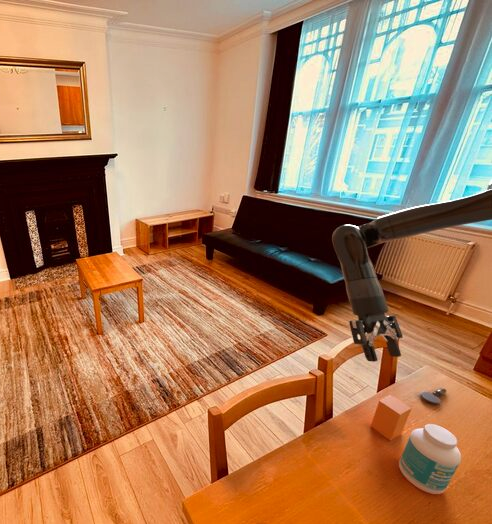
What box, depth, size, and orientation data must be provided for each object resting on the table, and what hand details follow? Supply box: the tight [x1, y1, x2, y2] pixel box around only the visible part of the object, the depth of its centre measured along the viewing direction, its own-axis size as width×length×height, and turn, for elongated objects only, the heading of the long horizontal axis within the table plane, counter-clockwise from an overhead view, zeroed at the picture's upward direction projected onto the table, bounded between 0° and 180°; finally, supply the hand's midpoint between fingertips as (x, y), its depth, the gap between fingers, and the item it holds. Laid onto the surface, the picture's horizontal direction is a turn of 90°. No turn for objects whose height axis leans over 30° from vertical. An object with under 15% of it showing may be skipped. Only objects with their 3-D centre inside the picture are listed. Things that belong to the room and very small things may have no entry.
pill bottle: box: [398, 423, 462, 495], centre depth 58 cm, size 8×7×14 cm
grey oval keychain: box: [419, 387, 448, 406], centre depth 79 cm, size 9×4×1 cm, turn 112°
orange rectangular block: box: [370, 394, 412, 442], centre depth 69 cm, size 4×4×9 cm
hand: (384, 358), depth 70 cm, fingers open, 8 cm apart
